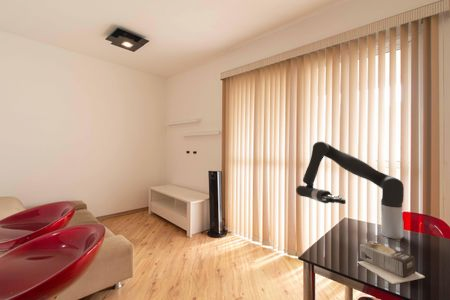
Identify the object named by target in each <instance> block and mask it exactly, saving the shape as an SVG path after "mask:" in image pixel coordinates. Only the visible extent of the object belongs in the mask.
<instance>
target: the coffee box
mask: <svg viewBox="0 0 450 300" xmlns="http://www.w3.org/2000/svg"><path fill="white" fill-rule="evenodd" d="M359 259H361V260H362V261H368V262H370V263H372V264H374V265H376V266H379V267H381V268H383V269H385V270H387V271H390V272H392V273H394V274H396V275H398V276H400V277H403V278H405V277H407V276H409V275H411V274H413V273H415V272H416V257H415V256H414V255H411V254H409V253H407V252H403V251H400V250H398V249H394V248H392V247H389V246H386V245H383V244H380V243H378V242H376V241H373V240H369V241H367V242H365V243H364V242H363V243H362V244H359Z"/></svg>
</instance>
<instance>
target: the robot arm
mask: <svg viewBox="0 0 450 300" xmlns="http://www.w3.org/2000/svg"><path fill="white" fill-rule="evenodd" d="M324 157H325V158H328V159H329V160H332V162H334V163H336V164H337V165H338V166H339V167H341V168H342V169H344V170H345V171H347V172H349V173H351V174H353V175H354V176H358V177H360V178H363V179H365V180H367V181H369V182H371V183H373V184H375V185H376V186H378V187H379V188H380V189H381V190H382V192H381V193H382V195H381V197H382V198H381V201H380V212H381V213H380V214H381V216H380V221H381V223H380V227H381V228H380V229H381V231H380V232H381V233H380V234H381V235H382V236H383V237H386V238H388V239H389V238H390V239H394V240H402V239H403V238H404V220H403V203H404V198H405V197H404V190H405V189H404V183H403V182H402V181H401V179H399V178H396V177H394V176H392V175H391V176H390V175H389V174H386V173H383V172H381V171H378V170H376V168H374V167H372V166H371V165H369V164H368V163H366V162H365V161H363V160H361V159H359V158H358V157H355V156H353V155H351V154H349V153H346V152H344V151H341V150H340V149H337V148H335V147H333V146H332V144H331V145H330V144H329V143H327V142H326V141H324V140H319V141H316V142H315V143H313V146H312V151H311V157H310V159H309V163H308V166H307V168H306V170H305V173H304V174H303V179H302V182H303V183H304V184H306V185H303V184H302V185H298V186H296V189H295V192H296V194H297V195H298V196H300V197H305V198H309V199H312V200H315V201H317V202H319V203H323V204H330V203H332V204H335V203H336V204H341V205H345V204H347V203H346V199H345V198H343V197H342V195H335V194H333V193H331V192H330V191H329V190H326V189H322V188H315V187H314V182H315V180H316V178H317V175H318V173H319V168H320V165H321V163H322V160H323V159H324Z"/></svg>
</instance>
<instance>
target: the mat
mask: <svg viewBox="0 0 450 300" xmlns="http://www.w3.org/2000/svg"><path fill="white" fill-rule="evenodd" d="M356 263H357V264H358V263H359V264H358V265H360V266H362V267H363V268H365V269H367V270H368V271H369V272H372V273H373V274H375V275H377V276H378V277H379V278H381V279H383V280H385V281H386V282H387V283H389V284H390V285H397V284H401V283H406V282H410V281H415V280H420V279H425V278H426V277H425V275H423V274H421V273H419V272H417V271H415V273H413V274H411V275H409V276H407V277H405V278H403V277H400V276H398V275H396V274H394V273H392V272H390V271H387V270H385V269H383V268H381V267H379V266H376V265H374V264H372V263H370V262H368V261H365V260H360V261H357V262H356Z"/></svg>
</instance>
